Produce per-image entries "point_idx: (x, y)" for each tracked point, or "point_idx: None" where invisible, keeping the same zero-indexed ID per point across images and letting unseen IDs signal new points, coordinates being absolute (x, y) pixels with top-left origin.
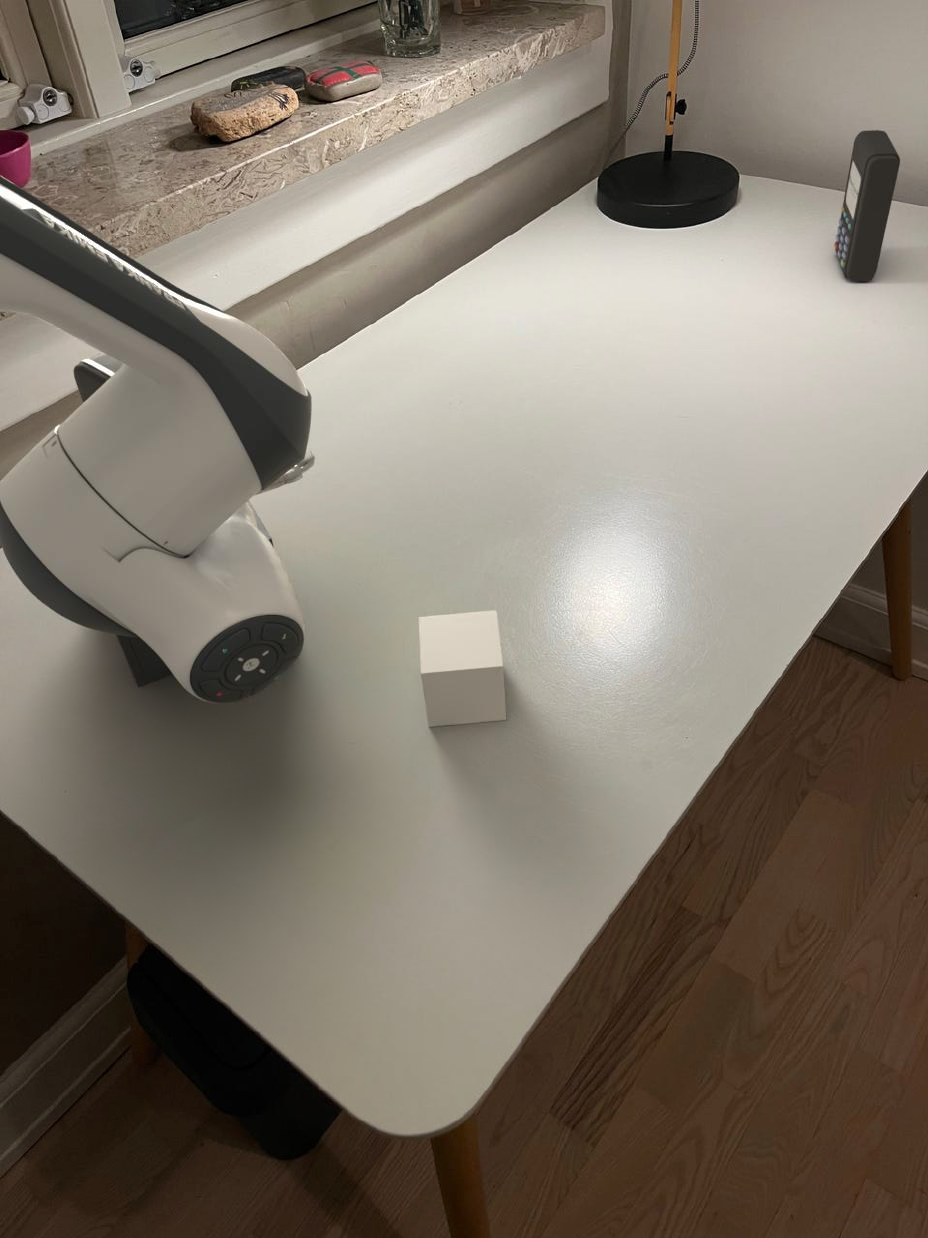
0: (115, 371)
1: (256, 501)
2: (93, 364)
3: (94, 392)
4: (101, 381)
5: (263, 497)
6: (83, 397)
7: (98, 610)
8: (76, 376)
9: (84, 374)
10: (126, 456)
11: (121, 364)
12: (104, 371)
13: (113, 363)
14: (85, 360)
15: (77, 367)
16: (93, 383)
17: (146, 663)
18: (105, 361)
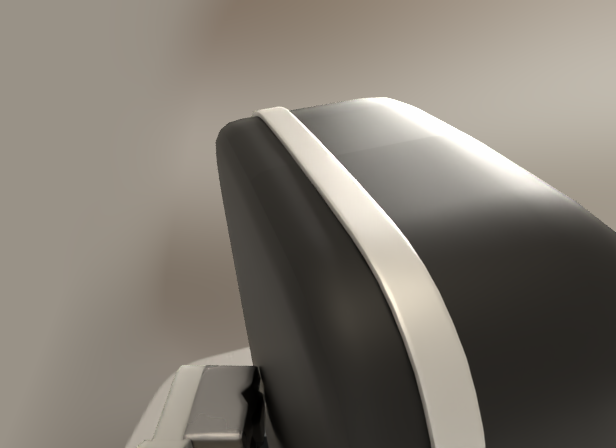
0: (391, 199)
1: None
2: (288, 131)
3: (250, 270)
4: (272, 245)
5: None
6: (233, 256)
7: None
8: (219, 172)
9: (228, 170)
10: None
11: (440, 164)
12: (322, 181)
13: (392, 149)
14: (268, 110)
15: (222, 132)
16: (247, 230)
17: None
18: (354, 131)
